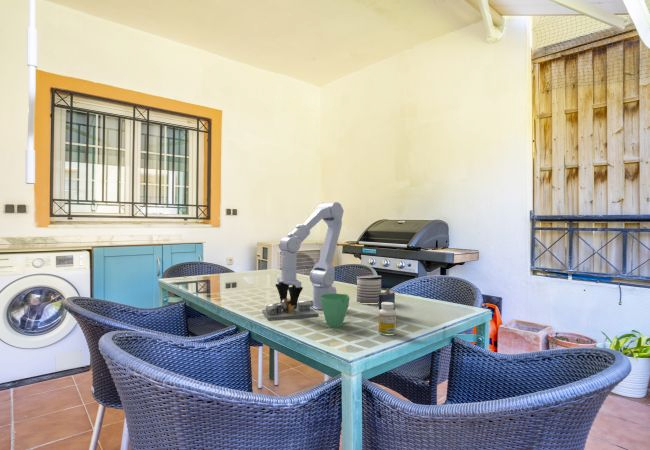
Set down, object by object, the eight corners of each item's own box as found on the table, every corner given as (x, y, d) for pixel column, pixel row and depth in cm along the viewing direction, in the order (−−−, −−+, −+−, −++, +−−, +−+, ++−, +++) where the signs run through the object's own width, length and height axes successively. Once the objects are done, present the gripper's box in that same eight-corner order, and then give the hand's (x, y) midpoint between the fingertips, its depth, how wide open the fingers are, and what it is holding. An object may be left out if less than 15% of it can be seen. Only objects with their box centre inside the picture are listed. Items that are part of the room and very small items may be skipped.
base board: (308, 309, 146) (308, 306, 146) (318, 316, 135) (318, 313, 135) (262, 312, 139) (262, 309, 139) (268, 320, 128) (268, 317, 128)
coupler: (291, 308, 142) (291, 297, 142) (297, 311, 138) (297, 299, 138) (278, 310, 138) (279, 299, 138) (284, 313, 135) (285, 301, 135)
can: (366, 305, 154) (366, 278, 154) (350, 300, 163) (351, 274, 163) (386, 303, 159) (387, 276, 159) (370, 298, 169) (371, 273, 169)
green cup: (341, 331, 116) (342, 300, 116) (315, 326, 121) (315, 297, 121) (358, 320, 129) (358, 293, 129) (333, 317, 134) (334, 290, 134)
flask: (390, 313, 141) (390, 286, 141) (396, 315, 139) (397, 287, 139) (377, 318, 134) (377, 289, 134) (383, 319, 132) (384, 290, 132)
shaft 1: (275, 310, 138) (275, 302, 138) (282, 312, 136) (282, 303, 136) (264, 313, 133) (264, 304, 133) (271, 315, 131) (271, 306, 131)
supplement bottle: (383, 330, 118) (383, 300, 118) (398, 333, 115) (398, 302, 115) (375, 333, 114) (376, 303, 114) (391, 337, 111) (391, 305, 111)
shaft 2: (310, 308, 143) (311, 299, 143) (313, 310, 140) (313, 301, 140) (296, 309, 141) (296, 300, 141) (299, 311, 138) (299, 302, 138)
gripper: (270, 266, 142) (270, 301, 142) (290, 271, 130) (289, 308, 130) (286, 265, 146) (285, 299, 146) (306, 269, 134) (305, 305, 134)
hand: (288, 303), depth 138 cm, fingers open, 7 cm apart
